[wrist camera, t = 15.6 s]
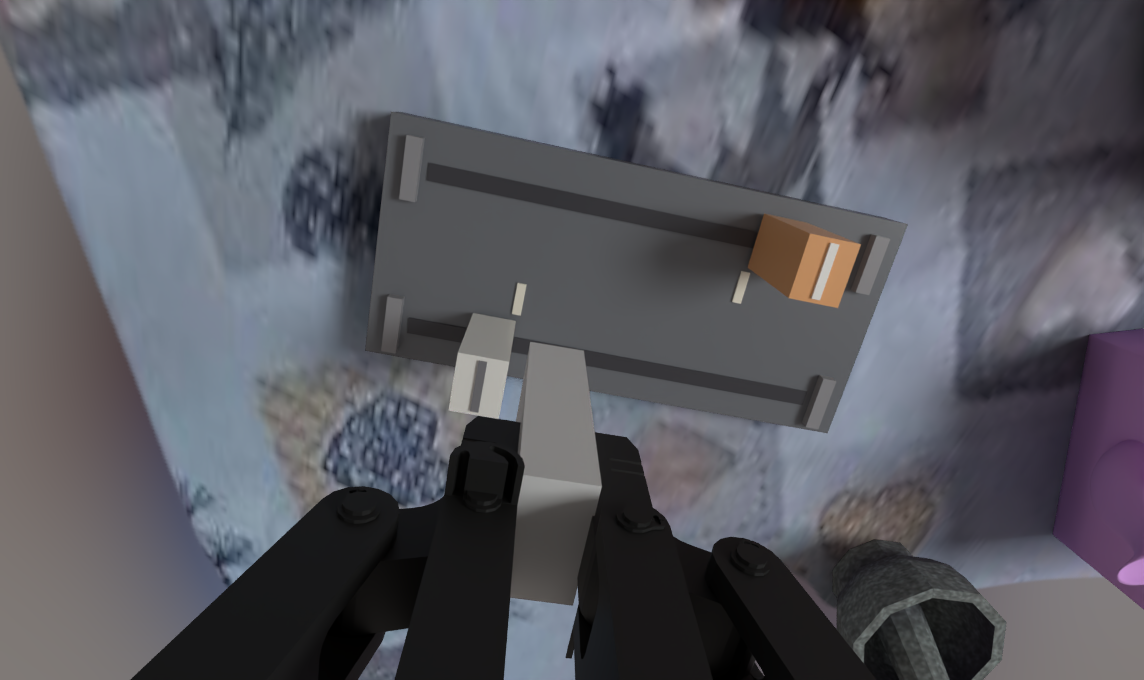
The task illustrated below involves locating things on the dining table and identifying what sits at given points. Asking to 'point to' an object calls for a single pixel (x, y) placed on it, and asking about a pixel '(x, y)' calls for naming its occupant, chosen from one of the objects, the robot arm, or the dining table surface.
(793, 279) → the orange fader
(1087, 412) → the teapot
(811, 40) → the dining table surface
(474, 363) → the block
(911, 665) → the mortar and pestle
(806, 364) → the console
